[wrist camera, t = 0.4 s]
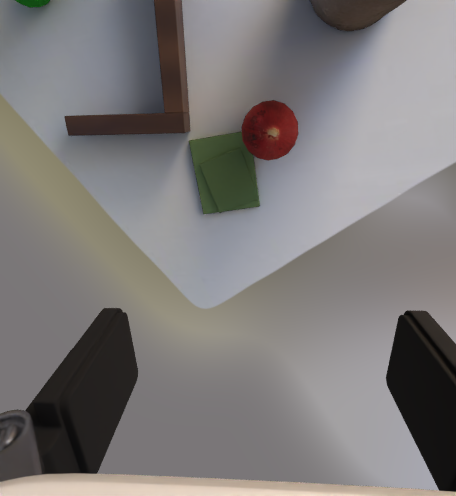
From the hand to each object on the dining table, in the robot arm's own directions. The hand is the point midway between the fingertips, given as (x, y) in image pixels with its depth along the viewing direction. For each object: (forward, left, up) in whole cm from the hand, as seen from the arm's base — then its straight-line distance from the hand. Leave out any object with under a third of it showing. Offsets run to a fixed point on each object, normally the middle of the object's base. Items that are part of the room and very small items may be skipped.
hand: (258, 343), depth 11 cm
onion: (-6, +2, -30) cm, 31 cm away
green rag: (-1, -3, -30) cm, 30 cm away
